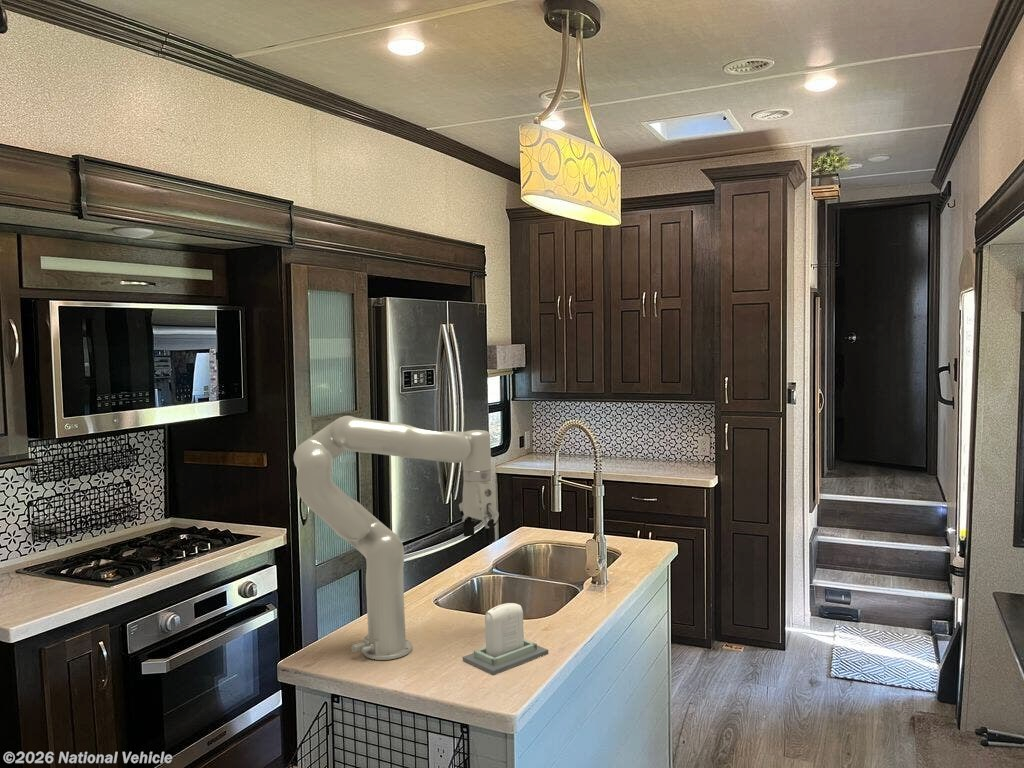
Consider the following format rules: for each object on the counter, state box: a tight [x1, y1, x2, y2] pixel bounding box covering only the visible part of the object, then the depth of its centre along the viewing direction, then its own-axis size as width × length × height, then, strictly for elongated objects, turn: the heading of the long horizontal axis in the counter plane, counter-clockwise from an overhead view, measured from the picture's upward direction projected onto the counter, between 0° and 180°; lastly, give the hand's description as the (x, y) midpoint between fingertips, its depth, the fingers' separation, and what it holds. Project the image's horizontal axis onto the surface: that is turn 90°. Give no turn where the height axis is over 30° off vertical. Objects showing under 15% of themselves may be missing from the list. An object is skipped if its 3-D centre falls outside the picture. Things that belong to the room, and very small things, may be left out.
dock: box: [462, 638, 549, 676], centre depth 196 cm, size 18×12×2 cm, turn 131°
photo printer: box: [484, 602, 525, 658], centre depth 196 cm, size 10×4×12 cm, turn 125°
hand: (479, 539), depth 212 cm, fingers open, 9 cm apart
